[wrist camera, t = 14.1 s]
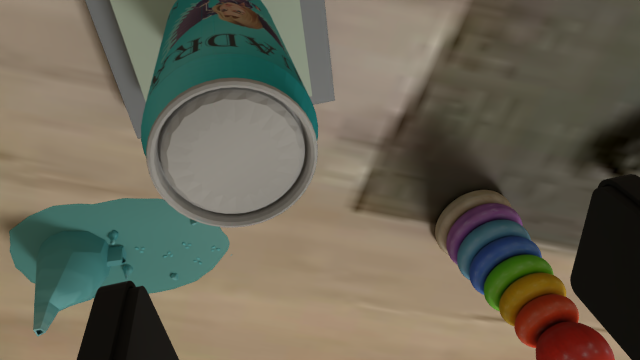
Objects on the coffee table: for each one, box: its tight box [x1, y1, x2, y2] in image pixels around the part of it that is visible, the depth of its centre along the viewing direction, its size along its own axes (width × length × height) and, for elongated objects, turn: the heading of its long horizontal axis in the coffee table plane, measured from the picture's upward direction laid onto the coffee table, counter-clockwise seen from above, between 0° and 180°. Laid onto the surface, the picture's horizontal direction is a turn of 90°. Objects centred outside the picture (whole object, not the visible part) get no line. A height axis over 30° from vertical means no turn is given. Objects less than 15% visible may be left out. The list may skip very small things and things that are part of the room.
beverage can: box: [141, 0, 318, 227], centre depth 20 cm, size 6×6×15 cm
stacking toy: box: [435, 190, 615, 360], centre depth 39 cm, size 8×8×19 cm
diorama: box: [9, 198, 229, 336], centre depth 37 cm, size 12×20×9 cm, turn 86°
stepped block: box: [85, 0, 335, 139], centre depth 29 cm, size 14×14×6 cm
